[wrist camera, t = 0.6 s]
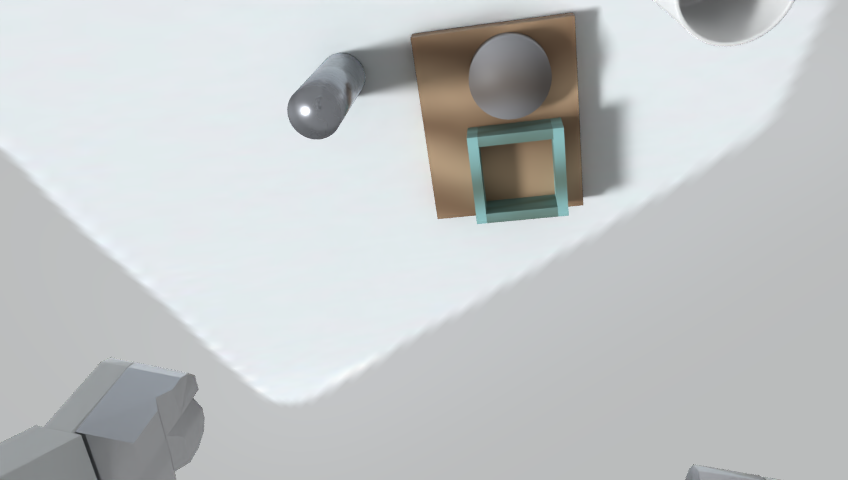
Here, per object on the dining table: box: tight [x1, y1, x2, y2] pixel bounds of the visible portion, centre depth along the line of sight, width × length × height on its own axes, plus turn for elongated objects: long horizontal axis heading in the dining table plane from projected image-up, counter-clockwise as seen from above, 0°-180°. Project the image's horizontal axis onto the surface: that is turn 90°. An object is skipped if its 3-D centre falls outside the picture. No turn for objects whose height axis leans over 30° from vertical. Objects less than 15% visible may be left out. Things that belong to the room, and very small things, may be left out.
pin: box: [287, 53, 365, 139], centre depth 50 cm, size 4×4×10 cm
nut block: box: [411, 13, 583, 224], centre depth 53 cm, size 15×12×4 cm
